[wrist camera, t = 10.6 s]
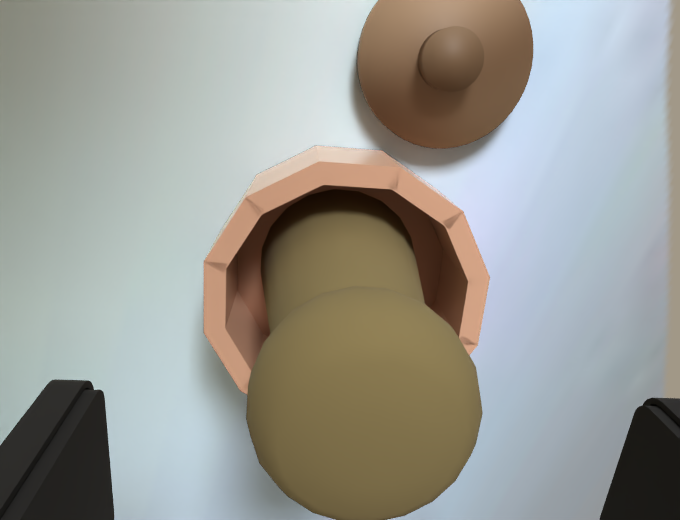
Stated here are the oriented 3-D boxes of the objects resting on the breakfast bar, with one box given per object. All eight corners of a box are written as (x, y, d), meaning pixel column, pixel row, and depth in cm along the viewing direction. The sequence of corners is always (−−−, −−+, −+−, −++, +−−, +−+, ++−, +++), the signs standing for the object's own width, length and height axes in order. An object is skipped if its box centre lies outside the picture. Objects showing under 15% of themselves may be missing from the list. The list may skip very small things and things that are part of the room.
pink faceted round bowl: (223, 138, 20) (203, 153, 16) (470, 157, 20) (508, 174, 17) (220, 363, 22) (203, 420, 19) (436, 371, 23) (462, 428, 20)
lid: (324, 33, 19) (325, 29, 17) (472, -71, 18) (493, -89, 16) (409, 173, 21) (420, 185, 19) (547, 85, 20) (574, 87, 18)
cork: (435, 210, 20) (572, 348, 10) (390, 348, 22) (467, 588, 12) (279, 171, 19) (250, 278, 9) (246, 319, 21) (190, 548, 11)
